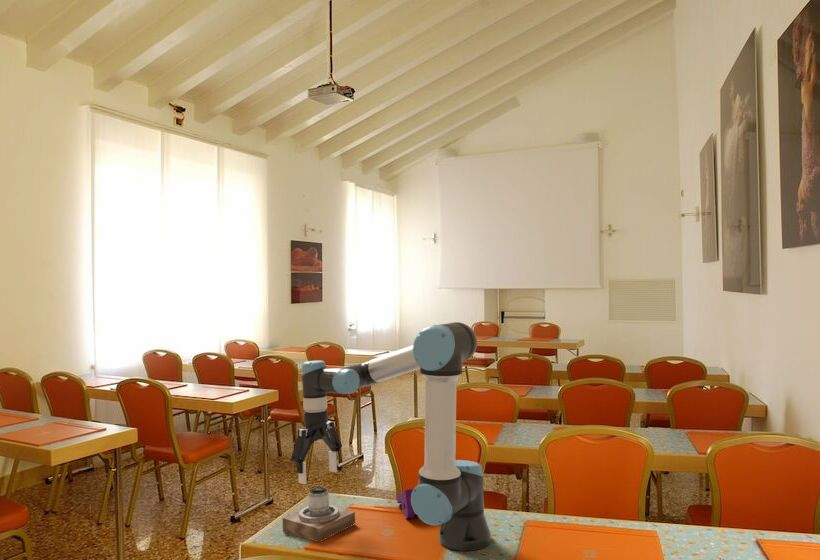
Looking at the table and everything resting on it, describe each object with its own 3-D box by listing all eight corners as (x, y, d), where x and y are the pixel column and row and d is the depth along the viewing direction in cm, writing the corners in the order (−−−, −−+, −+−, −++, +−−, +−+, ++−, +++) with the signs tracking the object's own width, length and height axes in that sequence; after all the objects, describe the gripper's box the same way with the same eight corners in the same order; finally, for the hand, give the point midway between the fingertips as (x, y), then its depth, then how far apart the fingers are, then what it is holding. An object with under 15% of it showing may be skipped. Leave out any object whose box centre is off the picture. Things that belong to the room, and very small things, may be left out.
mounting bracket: (397, 523, 216) (408, 517, 200) (394, 498, 219) (404, 490, 204) (423, 520, 218) (436, 513, 203) (420, 494, 222) (432, 486, 206)
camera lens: (312, 510, 203) (311, 485, 203) (331, 510, 202) (330, 486, 202) (306, 517, 196) (305, 492, 196) (326, 517, 196) (325, 492, 196)
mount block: (355, 524, 201) (354, 508, 201) (319, 542, 188) (318, 524, 188) (319, 514, 210) (318, 499, 210) (282, 530, 197) (282, 514, 197)
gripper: (334, 402, 211) (336, 465, 211) (277, 416, 191) (280, 486, 191) (350, 403, 207) (353, 468, 207) (294, 418, 187) (297, 490, 187)
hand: (318, 477), depth 199 cm, fingers open, 13 cm apart
